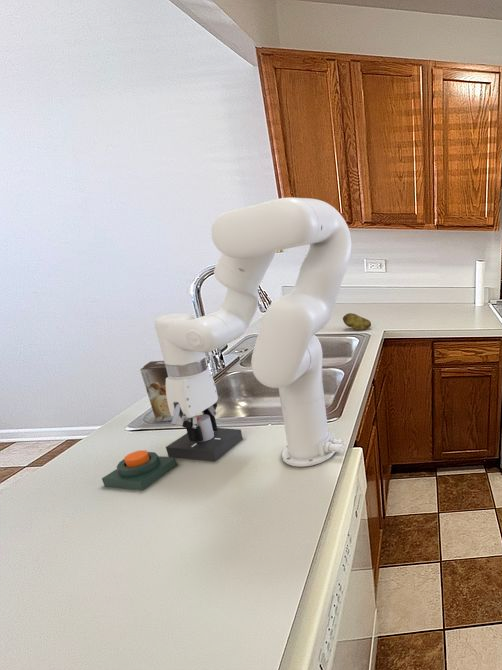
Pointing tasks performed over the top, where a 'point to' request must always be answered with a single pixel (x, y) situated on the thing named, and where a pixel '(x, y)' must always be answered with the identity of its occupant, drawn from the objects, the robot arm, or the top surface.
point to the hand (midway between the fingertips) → (203, 434)
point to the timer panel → (205, 446)
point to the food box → (157, 389)
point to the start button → (136, 458)
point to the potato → (356, 321)
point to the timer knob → (205, 427)
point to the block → (139, 473)
